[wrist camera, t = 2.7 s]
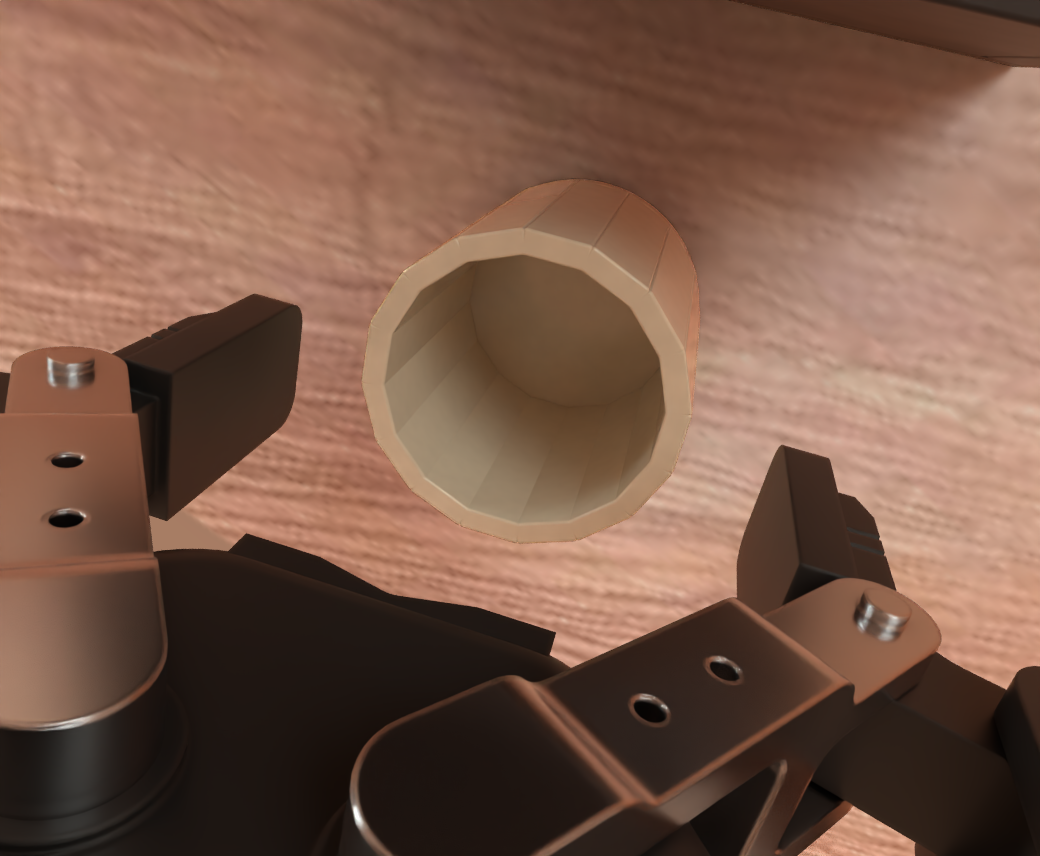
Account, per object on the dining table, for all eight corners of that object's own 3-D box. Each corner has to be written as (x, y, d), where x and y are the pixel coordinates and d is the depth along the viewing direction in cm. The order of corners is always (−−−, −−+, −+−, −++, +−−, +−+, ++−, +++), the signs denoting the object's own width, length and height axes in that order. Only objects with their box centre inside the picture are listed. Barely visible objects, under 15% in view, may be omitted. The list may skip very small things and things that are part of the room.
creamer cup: (442, 378, 23) (344, 491, 17) (484, 151, 20) (387, 190, 14) (659, 441, 22) (636, 581, 16) (732, 215, 19) (737, 284, 14)
